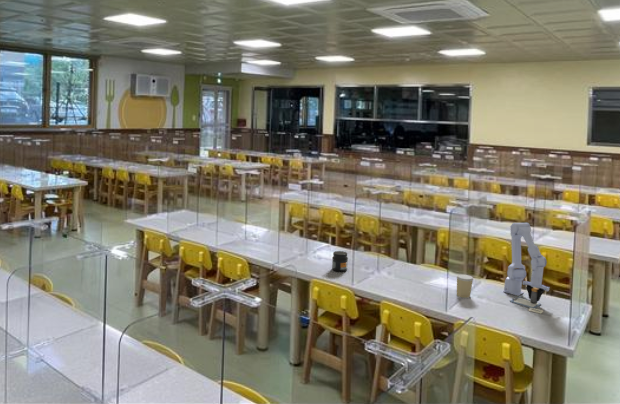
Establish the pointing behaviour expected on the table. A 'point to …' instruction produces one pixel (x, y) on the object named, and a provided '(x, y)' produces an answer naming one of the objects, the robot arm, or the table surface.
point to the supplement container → (339, 261)
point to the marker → (534, 295)
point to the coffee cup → (464, 285)
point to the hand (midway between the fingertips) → (534, 299)
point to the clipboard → (524, 302)
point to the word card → (535, 310)
